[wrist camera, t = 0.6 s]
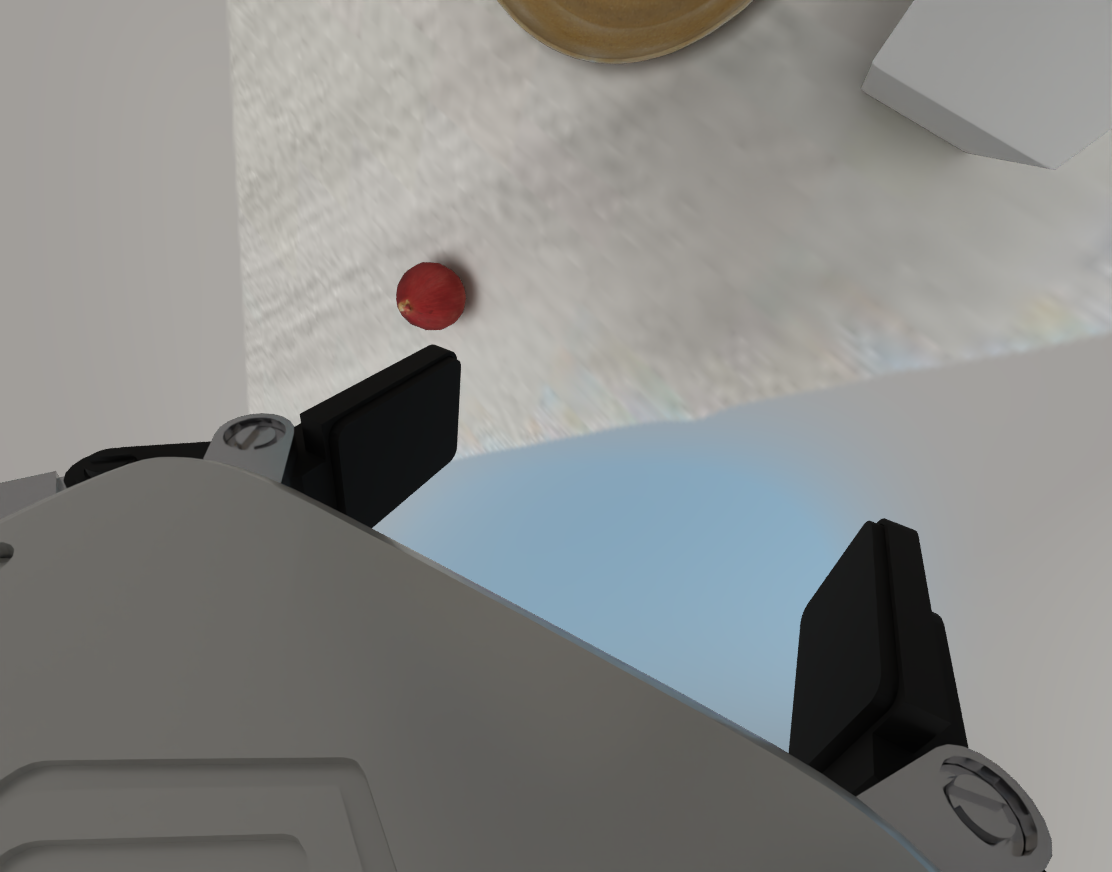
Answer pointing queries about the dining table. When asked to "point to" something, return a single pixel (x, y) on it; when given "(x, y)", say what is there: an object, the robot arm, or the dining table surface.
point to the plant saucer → (620, 25)
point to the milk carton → (1002, 75)
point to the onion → (430, 296)
